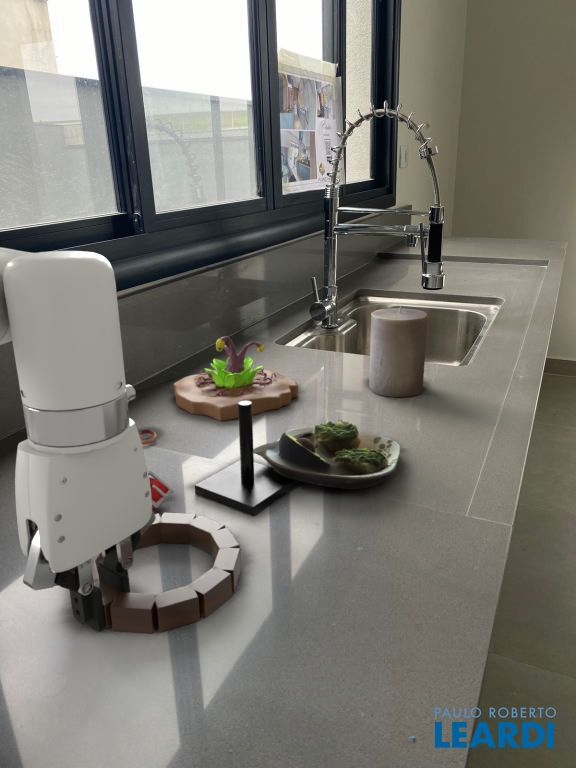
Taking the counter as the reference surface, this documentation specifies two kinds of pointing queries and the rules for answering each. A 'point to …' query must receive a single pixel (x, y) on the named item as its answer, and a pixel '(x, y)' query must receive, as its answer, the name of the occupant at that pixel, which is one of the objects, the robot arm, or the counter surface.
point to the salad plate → (332, 456)
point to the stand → (246, 476)
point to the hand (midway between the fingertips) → (103, 613)
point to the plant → (233, 386)
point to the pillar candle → (397, 351)
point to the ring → (181, 602)
